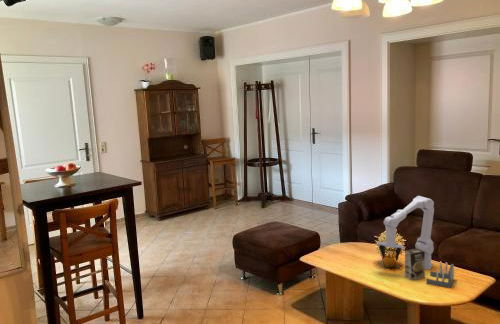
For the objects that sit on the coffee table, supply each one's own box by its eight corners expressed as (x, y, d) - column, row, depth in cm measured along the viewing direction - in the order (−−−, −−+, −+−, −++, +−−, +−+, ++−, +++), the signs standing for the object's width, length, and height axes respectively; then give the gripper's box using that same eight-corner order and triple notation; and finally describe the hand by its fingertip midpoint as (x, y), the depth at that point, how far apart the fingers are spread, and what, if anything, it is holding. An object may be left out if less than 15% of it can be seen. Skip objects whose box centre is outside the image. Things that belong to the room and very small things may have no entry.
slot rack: (430, 275, 237) (430, 259, 236) (453, 279, 231) (453, 263, 229) (426, 283, 227) (426, 267, 225) (450, 288, 220) (450, 271, 219)
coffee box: (411, 280, 232) (411, 253, 230) (404, 276, 238) (404, 250, 236) (425, 278, 234) (425, 251, 232) (417, 273, 240) (417, 247, 238)
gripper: (376, 237, 241) (376, 258, 242) (401, 240, 233) (401, 263, 234) (379, 233, 247) (379, 255, 248) (404, 237, 239) (404, 259, 240)
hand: (390, 259), depth 242 cm, fingers open, 7 cm apart
